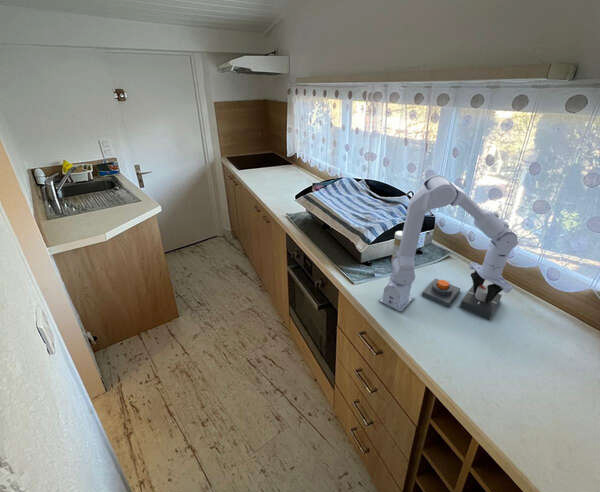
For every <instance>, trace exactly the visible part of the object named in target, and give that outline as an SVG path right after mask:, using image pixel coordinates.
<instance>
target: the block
mask: <svg viewBox="0 0 600 492" xmlns="http://www.w3.org/2000/svg"><path fill="white" fill-rule="evenodd" d="M439 280H440V279H439V278H436V277H435V278H434V279H433V280H432V282H431V283H430V284H429V285H428V286H427V287H426V288H425V289H424V290H423V291H422V293H421V296H422V297H424V298H427V299H428V300H431V301H433V302H435V303H437V304H440V305H442V306H444V307H447V308H449V306H450V305H451V304H452V302H453V301H454V300H455V298H456V297H457V296H458V294H459V293H460V290H461V287H458V286H455V285H454V284H451V283H449V287H448V289H447V290H443V289H440V288H438V287H437V284H438V281H439Z"/></svg>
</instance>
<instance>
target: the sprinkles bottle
mask: <svg viewBox="0 0 600 492" xmlns="http://www.w3.org/2000/svg"><path fill="white" fill-rule="evenodd" d="M402 233H403V230H397V231H395V233H394V241H393V246H392V253H391V260H390V261H391V262H392V259H393V258H394V257H395V255H396V252H397V251H399V247H400V243H401V238H402Z"/></svg>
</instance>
